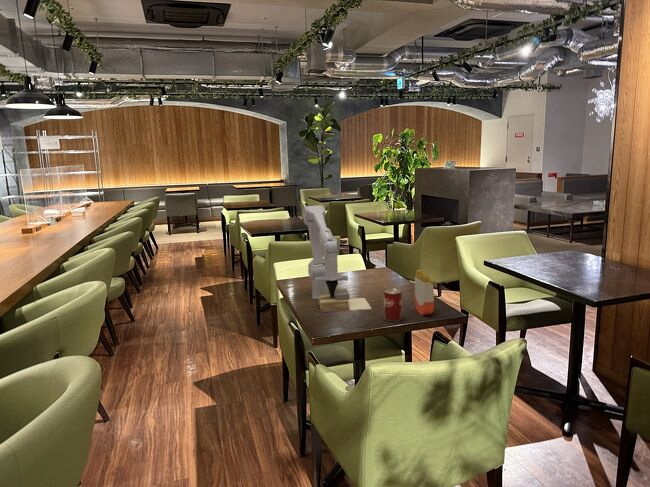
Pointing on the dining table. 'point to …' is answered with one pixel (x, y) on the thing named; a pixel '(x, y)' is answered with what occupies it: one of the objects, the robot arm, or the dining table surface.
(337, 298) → the slate tile
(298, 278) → the dining table surface
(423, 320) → the dining table surface
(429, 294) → the french fries container
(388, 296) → the soda can
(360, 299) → the placemat
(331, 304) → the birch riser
